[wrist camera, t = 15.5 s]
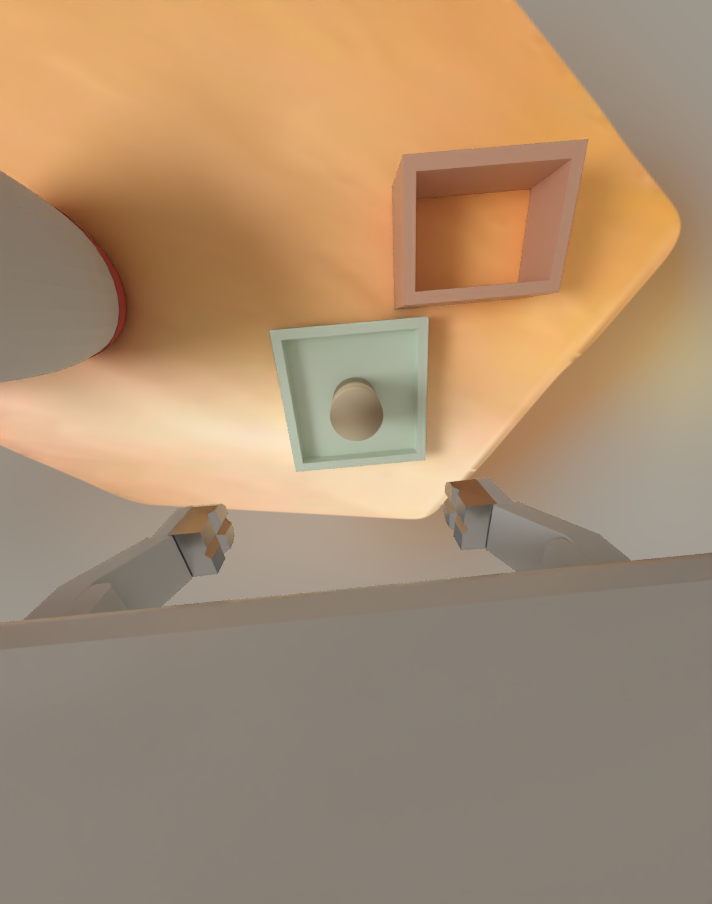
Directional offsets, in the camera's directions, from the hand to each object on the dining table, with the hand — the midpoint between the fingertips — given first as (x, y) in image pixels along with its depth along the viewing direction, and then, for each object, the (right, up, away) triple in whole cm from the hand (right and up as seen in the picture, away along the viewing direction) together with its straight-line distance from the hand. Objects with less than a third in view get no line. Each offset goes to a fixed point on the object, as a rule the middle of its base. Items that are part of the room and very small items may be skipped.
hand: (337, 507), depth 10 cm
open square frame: (+11, +22, +17) cm, 30 cm away
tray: (+1, +9, +23) cm, 24 cm away
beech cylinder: (+1, +8, +22) cm, 23 cm away
